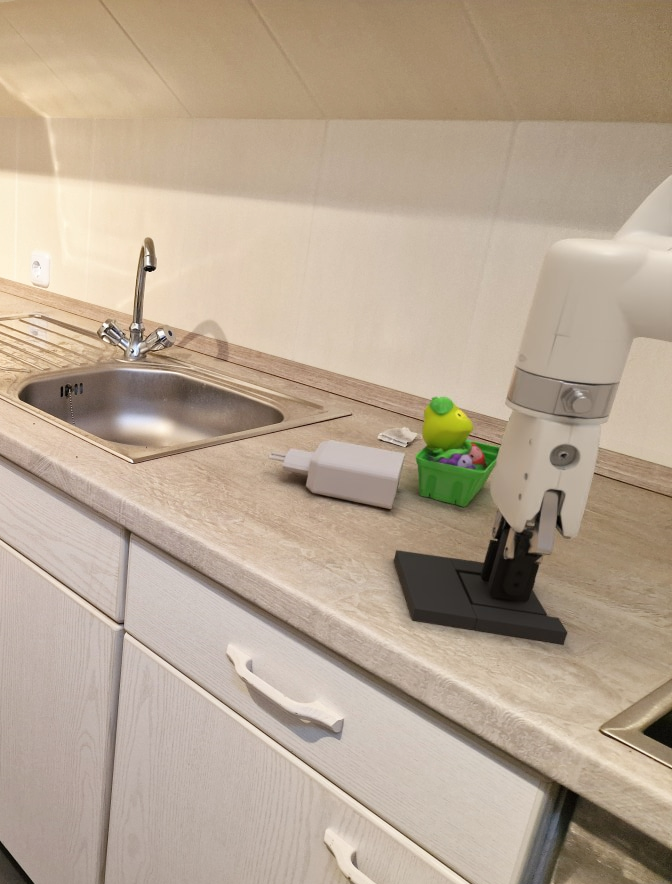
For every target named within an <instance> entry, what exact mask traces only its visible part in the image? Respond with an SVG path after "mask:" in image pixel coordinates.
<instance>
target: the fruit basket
mask: <svg viewBox="0 0 672 884" xmlns="http://www.w3.org/2000/svg"><path fill="white" fill-rule="evenodd" d="M423 416H424V417H423V418H424V419H423V424H422V430H421V431H422V432H421V433H422V439H423V441H424V443H425V444H426V445H425V446H424V447H423V448H422V449H421V450H419V452H418V453H416V454H415V461H416V462H415V463H416V464H417V473H418V474H417V475H418V491H419V496H421V497H425V498H430V499H432V500H434V501H439V502H443V503H448V504H451V505H456V506H459V507H462V508H465V507H467V505H468V504H469V503H470V502H471V501H472V500H473V499H474V497H475V496H476V495H478V493H479V492H480V490H481V489H482V488H483V487H484V486H485V484H486V483H487V480H488V479H489V477H490V476H491V474H492V473H493V470H494V466H495V462H496V459H497V455H498V452H499V449H500V446H496V445H492V444H487V443H483V442H478V441H473V440H471V439H467V438H468V437H469V435H470V434H471V433H472V432H473V431H474V424H473V422H472V420H471V419H470V418H469V417H468V416H467V414H466V413H465V412H464V411H462V410H461V409H460V408H459V407H458V406H457V405H456V404H455V403H454V401H453V400H452V399H451V398H449V397H447V396H440V397H438V396H433V397H431V400H430V402H429V403H428V404H427V405H426V406H425V408H424V410H423Z"/></svg>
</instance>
